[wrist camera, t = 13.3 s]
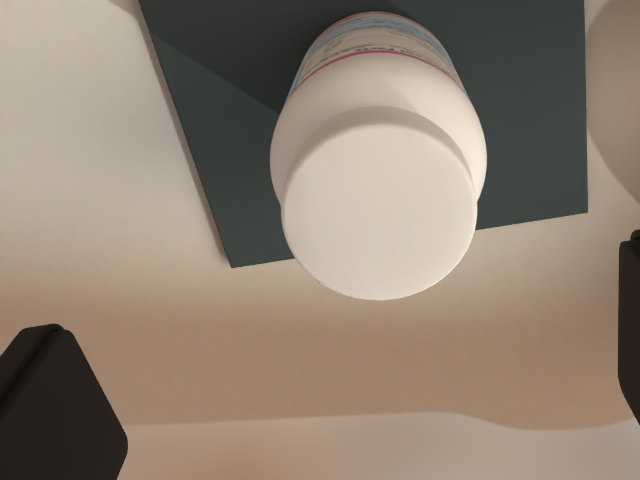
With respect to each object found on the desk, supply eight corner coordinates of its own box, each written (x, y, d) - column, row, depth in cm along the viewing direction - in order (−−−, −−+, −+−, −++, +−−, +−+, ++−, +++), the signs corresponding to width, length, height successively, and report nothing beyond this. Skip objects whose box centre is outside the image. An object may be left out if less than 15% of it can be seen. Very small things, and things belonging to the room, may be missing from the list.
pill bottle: (402, 185, 26) (419, 361, 16) (273, 117, 25) (208, 262, 15) (486, 57, 23) (569, 177, 13) (344, -25, 22) (321, 39, 12)
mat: (233, 263, 29) (230, 268, 29) (124, -55, 23) (119, -54, 22) (584, 207, 26) (588, 213, 26) (577, -174, 20) (581, -175, 19)
